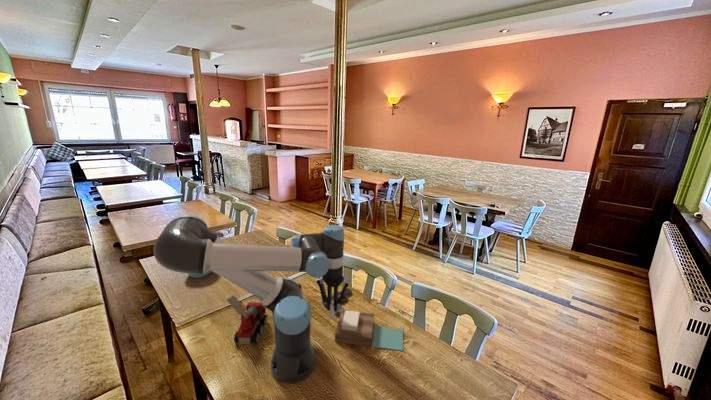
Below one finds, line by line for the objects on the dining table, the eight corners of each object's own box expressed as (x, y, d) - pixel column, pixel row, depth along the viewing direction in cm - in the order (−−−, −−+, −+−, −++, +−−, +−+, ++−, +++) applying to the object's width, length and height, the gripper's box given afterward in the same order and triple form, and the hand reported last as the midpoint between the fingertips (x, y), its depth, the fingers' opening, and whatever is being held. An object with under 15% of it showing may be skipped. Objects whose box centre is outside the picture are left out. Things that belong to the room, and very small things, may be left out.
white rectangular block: (356, 331, 111) (356, 326, 111) (341, 329, 112) (341, 324, 111) (359, 316, 120) (359, 312, 119) (345, 314, 120) (345, 310, 120)
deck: (370, 346, 109) (371, 337, 108) (334, 341, 111) (335, 333, 110) (373, 322, 122) (374, 314, 121) (341, 318, 124) (341, 310, 123)
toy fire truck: (268, 320, 121) (267, 283, 117) (255, 348, 106) (253, 307, 102) (242, 318, 121) (239, 281, 117) (225, 346, 106) (221, 305, 102)
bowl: (219, 276, 152) (217, 262, 150) (184, 284, 143) (182, 270, 141) (214, 264, 164) (212, 251, 162) (182, 271, 156) (180, 257, 154)
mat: (403, 351, 108) (403, 350, 108) (371, 346, 109) (371, 346, 109) (402, 329, 119) (402, 328, 119) (374, 325, 121) (374, 324, 120)
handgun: (364, 298, 137) (347, 286, 145) (336, 313, 124) (319, 298, 132) (363, 303, 137) (346, 291, 145) (335, 318, 125) (319, 303, 133)
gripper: (351, 261, 113) (349, 313, 119) (319, 258, 114) (318, 309, 121) (348, 271, 106) (346, 325, 112) (314, 267, 107) (314, 321, 114)
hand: (332, 317), depth 116 cm, fingers closed
